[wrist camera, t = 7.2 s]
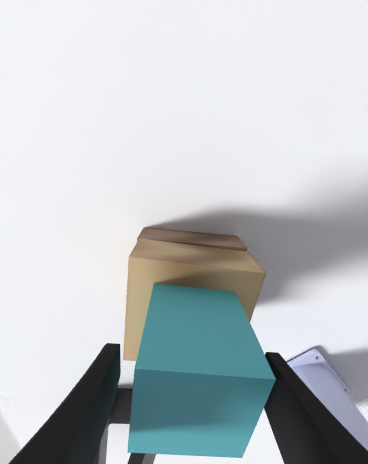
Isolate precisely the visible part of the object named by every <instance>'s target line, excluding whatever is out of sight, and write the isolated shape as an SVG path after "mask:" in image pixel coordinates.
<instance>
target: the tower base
mask: <svg viewBox="0 0 368 464" xmlns="http://www.w3.org/2000/svg"><path fill="white" fill-rule="evenodd" d="M140 238H142V239H149V240H157V241H165V242H174V243H182V244H190V245H198V246H206V247H214V248H222V249H230V250H238V251H246V250H247V248H246V246H245V245H244V244H243V243H242V242H241V241H240V239H239V238H238V237H237V236H229V235H218V234H208V233H197V232H186V231H175V230H164V229H154V228H143V230H142V232H141V233H140V235H139V236H138V238H137V242H138V240H139V239H140Z"/></svg>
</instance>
